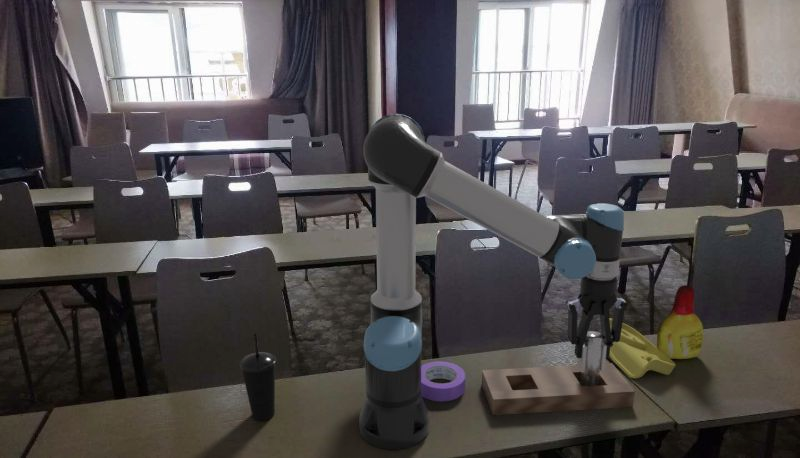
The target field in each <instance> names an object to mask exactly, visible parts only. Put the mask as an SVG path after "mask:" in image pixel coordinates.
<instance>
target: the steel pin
mask: <svg viewBox="0 0 800 458" xmlns="http://www.w3.org/2000/svg"><path fill="white" fill-rule="evenodd" d="M602 343H603V335H602V332H601V333H600V332H599V331H595V330H588V333H587V336H586V339H585V342H584V344H585V345H586V346H587V352H586V363H585V372H581V379H580V385H581V386H582V387H583V386H598V382H599V373H600V363H601V353H602Z"/></svg>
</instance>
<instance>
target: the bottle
mask: <svg viewBox="0 0 800 458" xmlns="http://www.w3.org/2000/svg"><path fill="white" fill-rule="evenodd" d="M674 295H675V296H674V301H673V305H672V309H671V311H670V313H669V314H668V315H667V316H666V317H665V318H664V319H663V320H662V321H661V323H660V324H659V326H658V328H657V333H656V334H657V335H656V347H657V348H658V349H659V350H660V351H661V352H662V353H664V354H665V355H666V356H667V357H668V358H669V359H671V360H672V359H673V360H675V359H677V360H688V359H692V358H696V357H699V354H700V352H701V351H702V345H703V342H704V326H703V323H702V321H701V319H700V317H698V316H697V314H696V313H695V311H694V302H695V301H694V300H695V290H694V289H693V287H692V286H689V285H686V284H685V285H681V286H679V287H678V288H677V290H676V293H675V294H674Z"/></svg>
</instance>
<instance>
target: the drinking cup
mask: <svg viewBox="0 0 800 458" xmlns="http://www.w3.org/2000/svg"><path fill="white" fill-rule="evenodd" d="M253 344H254V353H250V354H247V355H245V356H244V357H242V359H241V360H240V362H239V367H240V370H241V371H242V372H241V373H242V375H243V380H244V384H245V389H246V393H247V398H248V401H249V407H250V411H251V415H252V418H253V420H255V421H256V422H265V421H268V420H270V419H272V418H274V415H275V400H276V399H275V397H276V396H275V394H276V391H275V389H276V388H275V387H276V385H275V384H276V383H275V382H276V375H275V374H276V373H275V372H276V371H275V370H276V366H275V365H276V363H277V357H276V356H275V355H274V354H272V353H271V352H265V351H259V342H258V334H257V333H254V334H253Z"/></svg>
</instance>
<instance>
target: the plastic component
mask: <svg viewBox="0 0 800 458" xmlns="http://www.w3.org/2000/svg"><path fill="white" fill-rule="evenodd" d="M612 320H613V317H612V318H611V317H610V318H609V321H610V330H611V326H612ZM608 357H609V358H610V359H611V360H612V362H613V363H615V364H616V365H617V366H618V367H619V368H620V369H621V370H622V371H623V373H624V374H626V375H627V376H628V378H631V379H634V380H637V379H640V378H642V377H643V376H644V375H645V374H646V373H647V372H648V371H654V372H657V373H659V374H662V375H666V376H669V375H671V373H672V371H674V369H675V367H676V365H677V364H676V363H675V361H673V360H672V359H669V358H668V357H667V356H666V355H665V354H664V353H662V352H661V351H660V350H659V349H658V348H657V346H656V345H654V344H653V343H652V342H651V341H650V340H648V338H646V337H645V336H644V335H642V334H641V332H639V331H637V329H635V328H633V327H632V326H630V325H628V324H626V323H624V322H623V323H622V329H621V336H620V341H619V342H613V346H612V347H610V355H609V356H608Z"/></svg>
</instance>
